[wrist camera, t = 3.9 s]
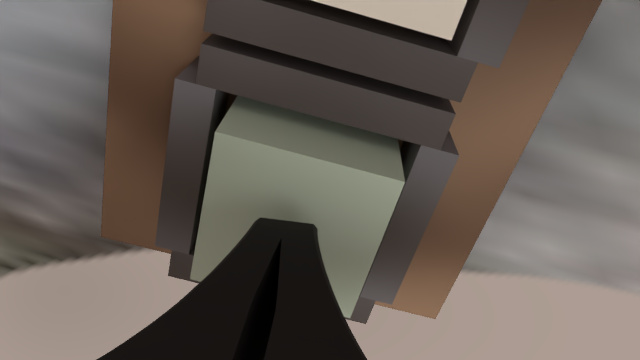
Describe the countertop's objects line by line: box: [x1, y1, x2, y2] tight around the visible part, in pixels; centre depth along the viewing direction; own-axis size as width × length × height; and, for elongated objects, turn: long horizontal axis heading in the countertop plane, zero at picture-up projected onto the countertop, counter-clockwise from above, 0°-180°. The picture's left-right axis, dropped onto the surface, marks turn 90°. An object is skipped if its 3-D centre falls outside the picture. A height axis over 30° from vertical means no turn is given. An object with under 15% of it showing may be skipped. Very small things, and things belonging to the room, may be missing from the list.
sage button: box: [190, 96, 405, 318], centre depth 13 cm, size 4×4×2 cm
